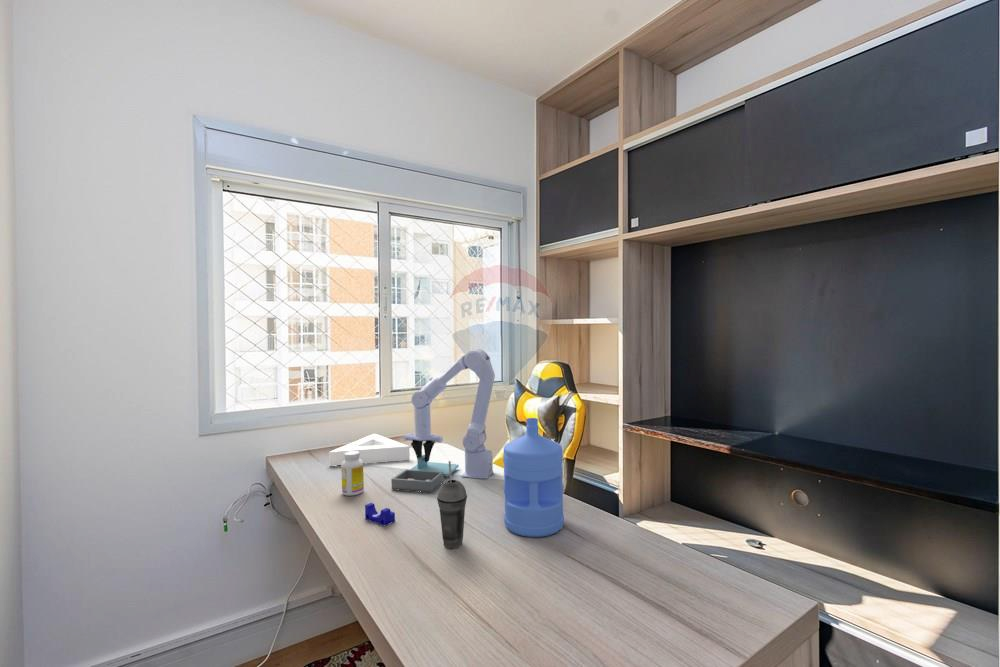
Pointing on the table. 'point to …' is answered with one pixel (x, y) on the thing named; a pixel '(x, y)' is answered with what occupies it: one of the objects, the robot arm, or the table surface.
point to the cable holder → (379, 515)
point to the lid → (434, 466)
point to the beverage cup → (452, 511)
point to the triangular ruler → (372, 450)
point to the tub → (417, 480)
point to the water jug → (533, 484)
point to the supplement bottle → (352, 474)
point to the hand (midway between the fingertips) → (423, 461)
